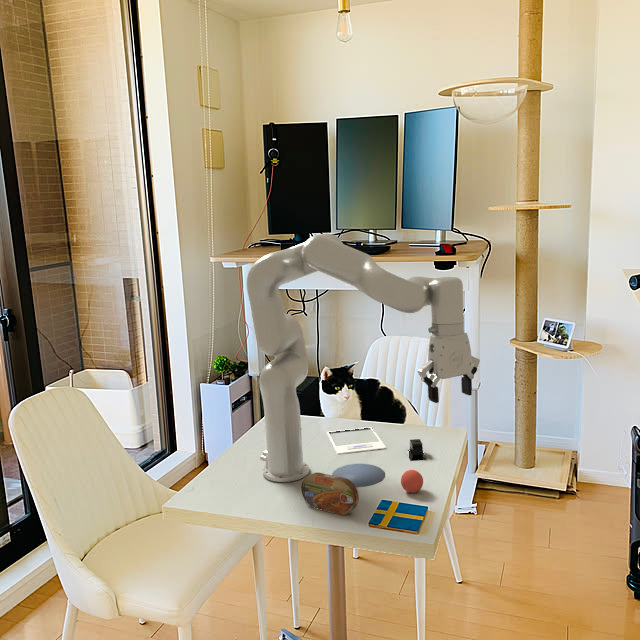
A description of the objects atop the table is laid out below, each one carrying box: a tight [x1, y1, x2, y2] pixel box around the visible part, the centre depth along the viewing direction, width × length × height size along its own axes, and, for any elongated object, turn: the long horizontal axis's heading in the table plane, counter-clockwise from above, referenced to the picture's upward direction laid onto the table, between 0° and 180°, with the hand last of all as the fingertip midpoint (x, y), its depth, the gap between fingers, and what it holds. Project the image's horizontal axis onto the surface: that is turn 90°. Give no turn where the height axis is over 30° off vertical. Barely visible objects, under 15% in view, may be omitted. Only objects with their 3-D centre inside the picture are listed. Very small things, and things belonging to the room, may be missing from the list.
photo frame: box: [325, 426, 387, 455], centre depth 197 cm, size 15×1×18 cm
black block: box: [408, 438, 428, 462], centre depth 184 cm, size 12×7×5 cm, turn 3°
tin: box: [300, 472, 360, 516], centre depth 154 cm, size 15×3×8 cm, turn 56°
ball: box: [400, 469, 424, 494], centre depth 161 cm, size 6×6×6 cm
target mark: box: [331, 463, 385, 488], centre depth 173 cm, size 14×14×1 cm
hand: (450, 397), depth 159 cm, fingers open, 9 cm apart
